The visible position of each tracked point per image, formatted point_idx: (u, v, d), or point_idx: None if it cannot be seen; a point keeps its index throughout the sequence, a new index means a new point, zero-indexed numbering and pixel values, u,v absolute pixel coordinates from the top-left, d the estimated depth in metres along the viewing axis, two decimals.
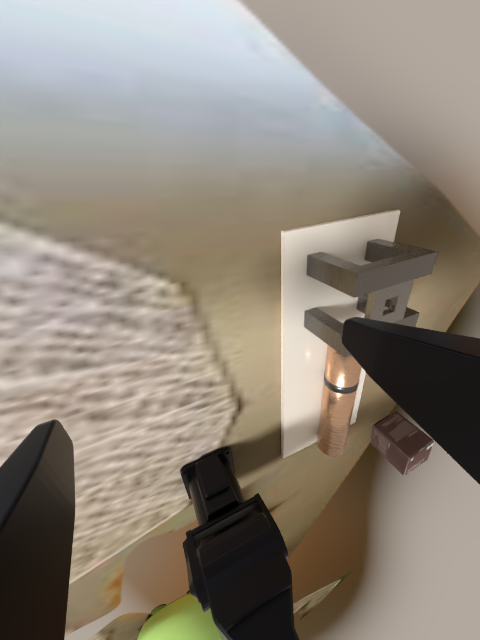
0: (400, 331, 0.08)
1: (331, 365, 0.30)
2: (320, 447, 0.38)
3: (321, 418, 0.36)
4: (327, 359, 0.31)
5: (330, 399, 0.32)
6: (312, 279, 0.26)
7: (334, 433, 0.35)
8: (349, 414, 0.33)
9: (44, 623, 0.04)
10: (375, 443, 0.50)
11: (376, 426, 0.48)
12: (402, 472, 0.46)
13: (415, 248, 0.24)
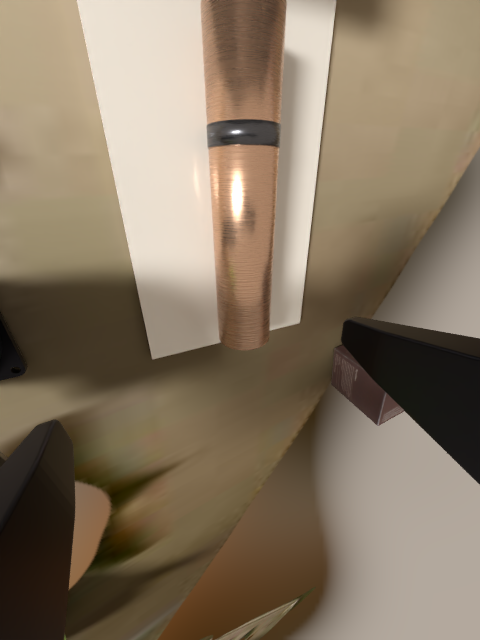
0: (400, 331, 0.08)
1: (206, 58, 0.12)
2: (220, 336, 0.20)
3: None
4: (203, 57, 0.13)
5: (217, 179, 0.14)
6: None
7: (235, 284, 0.17)
8: (262, 228, 0.15)
9: (44, 623, 0.04)
10: (336, 380, 0.32)
11: (338, 348, 0.30)
12: (375, 419, 0.27)
13: None
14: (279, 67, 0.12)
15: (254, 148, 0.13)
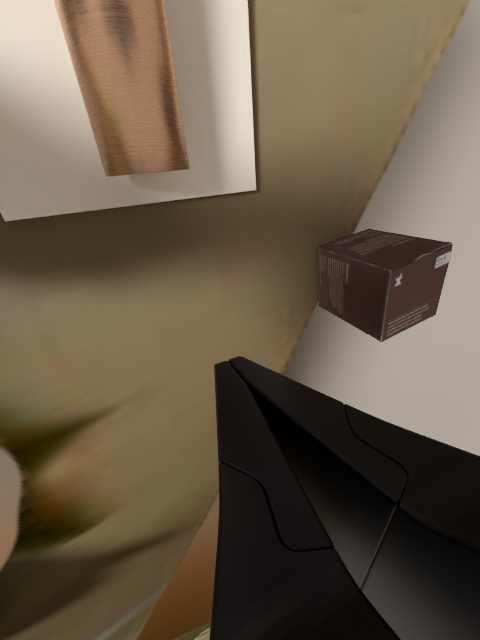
0: (266, 384, 0.06)
1: None
2: (102, 164, 0.12)
3: None
4: None
5: None
6: None
7: None
8: None
9: None
10: (324, 295, 0.23)
11: (323, 246, 0.22)
12: (377, 332, 0.19)
13: None
14: None
15: None
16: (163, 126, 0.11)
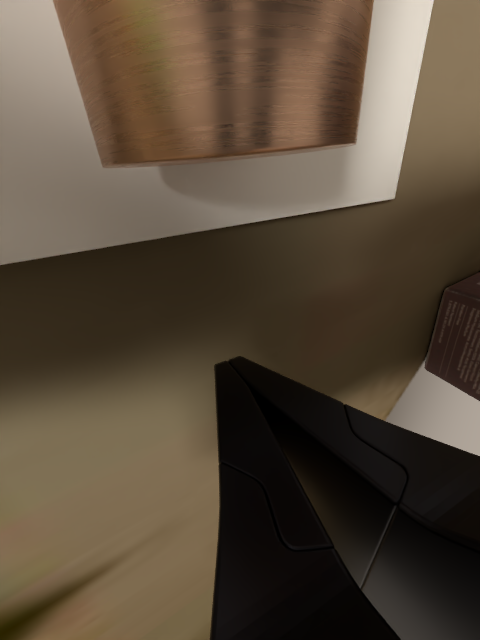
0: (266, 384, 0.06)
1: None
2: (91, 124, 0.03)
3: None
4: None
5: None
6: None
7: None
8: None
9: None
10: (443, 358, 0.15)
11: (457, 288, 0.13)
12: None
13: None
14: None
15: None
16: None
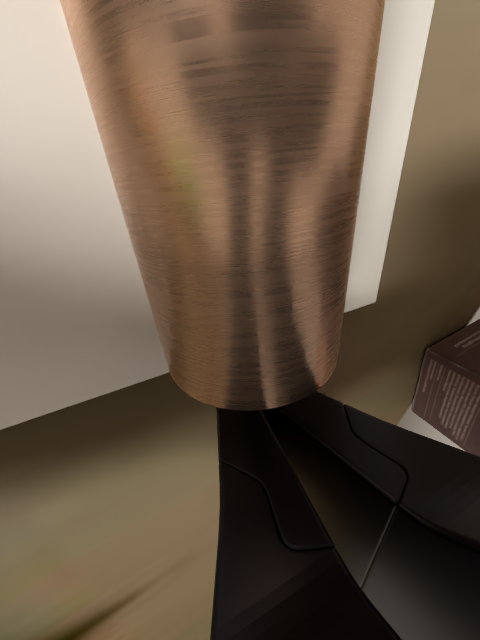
0: None
1: None
2: (169, 363, 0.05)
3: None
4: None
5: None
6: None
7: None
8: None
9: None
10: (427, 406, 0.17)
11: (437, 349, 0.15)
12: None
13: None
14: None
15: None
16: (338, 305, 0.04)
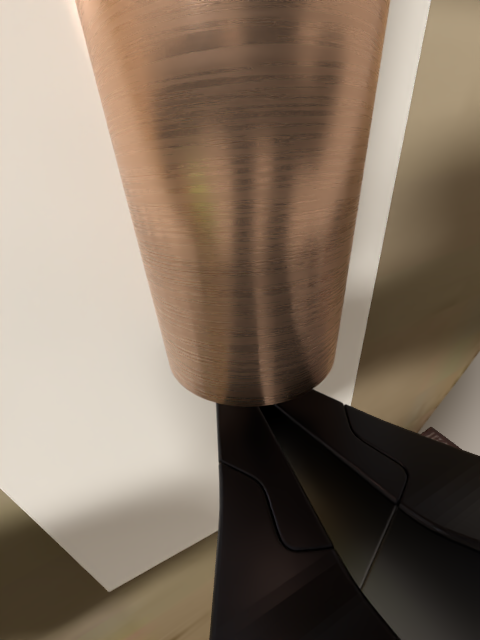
0: None
1: None
2: (171, 359, 0.05)
3: None
4: None
5: None
6: None
7: None
8: None
9: None
10: None
11: None
12: None
13: None
14: None
15: None
16: (336, 306, 0.05)
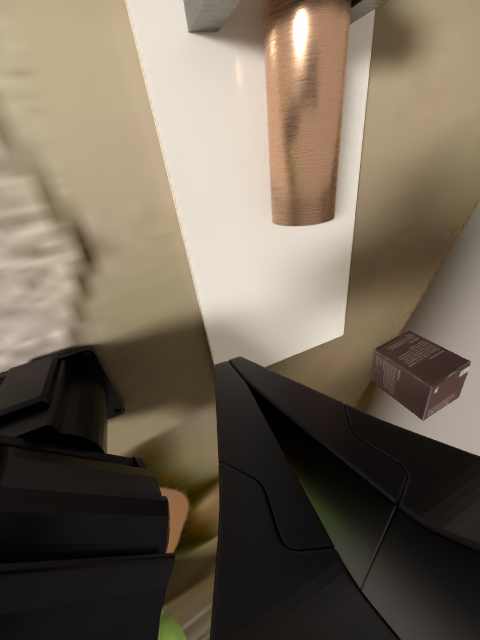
0: (266, 384, 0.06)
1: None
2: (280, 217, 0.16)
3: (269, 101, 0.14)
4: None
5: None
6: None
7: (307, 118, 0.13)
8: (343, 20, 0.11)
9: None
10: (378, 378, 0.34)
11: (379, 350, 0.32)
12: (420, 415, 0.29)
13: None
14: None
15: None
16: (334, 191, 0.15)
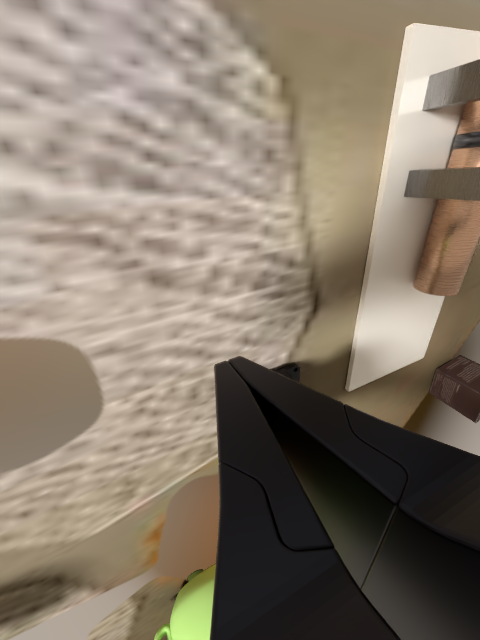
0: (266, 384, 0.06)
1: None
2: (429, 289, 0.26)
3: (440, 230, 0.24)
4: None
5: None
6: (427, 120, 0.20)
7: (466, 244, 0.23)
8: None
9: None
10: (436, 390, 0.44)
11: (440, 369, 0.42)
12: (473, 418, 0.40)
13: None
14: None
15: None
16: (464, 276, 0.26)
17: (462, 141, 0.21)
